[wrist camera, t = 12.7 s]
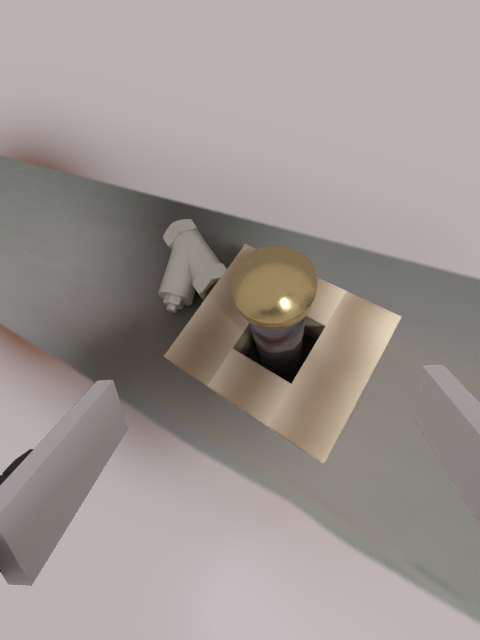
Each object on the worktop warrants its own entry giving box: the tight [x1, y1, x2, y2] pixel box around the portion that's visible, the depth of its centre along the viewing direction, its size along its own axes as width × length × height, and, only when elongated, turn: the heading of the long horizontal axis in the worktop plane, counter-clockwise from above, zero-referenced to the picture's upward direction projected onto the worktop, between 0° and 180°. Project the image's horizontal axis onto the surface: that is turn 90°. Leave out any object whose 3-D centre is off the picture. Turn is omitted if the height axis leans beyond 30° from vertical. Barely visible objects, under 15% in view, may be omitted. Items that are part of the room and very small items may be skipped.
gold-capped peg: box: [231, 246, 318, 373], centre depth 22 cm, size 4×4×13 cm
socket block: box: [164, 244, 401, 464], centre depth 26 cm, size 14×12×4 cm
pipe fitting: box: [158, 219, 227, 313], centre depth 31 cm, size 8×4×7 cm
